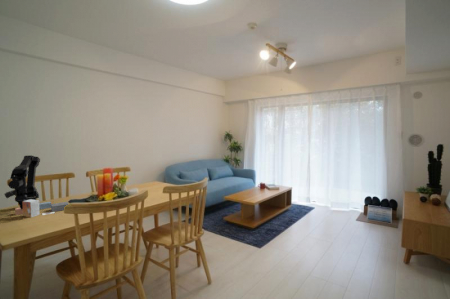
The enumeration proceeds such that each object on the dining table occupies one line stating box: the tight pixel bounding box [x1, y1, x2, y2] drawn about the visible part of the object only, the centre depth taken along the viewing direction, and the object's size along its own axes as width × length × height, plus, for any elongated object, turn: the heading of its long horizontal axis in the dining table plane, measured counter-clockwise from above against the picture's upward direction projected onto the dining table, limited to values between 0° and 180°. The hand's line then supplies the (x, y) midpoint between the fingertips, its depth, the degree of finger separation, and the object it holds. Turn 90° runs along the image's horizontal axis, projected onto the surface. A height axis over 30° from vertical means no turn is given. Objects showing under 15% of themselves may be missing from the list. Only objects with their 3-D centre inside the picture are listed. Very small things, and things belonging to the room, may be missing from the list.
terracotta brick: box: [14, 206, 23, 216], centre depth 162 cm, size 5×7×4 cm
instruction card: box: [41, 211, 55, 216], centre depth 161 cm, size 5×7×1 cm
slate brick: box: [39, 201, 52, 210], centre depth 173 cm, size 5×7×4 cm
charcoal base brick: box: [50, 201, 69, 212], centre depth 170 cm, size 8×10×4 cm
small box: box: [22, 199, 40, 218], centre depth 157 cm, size 8×6×10 cm
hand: (22, 207), depth 162 cm, fingers open, 9 cm apart
